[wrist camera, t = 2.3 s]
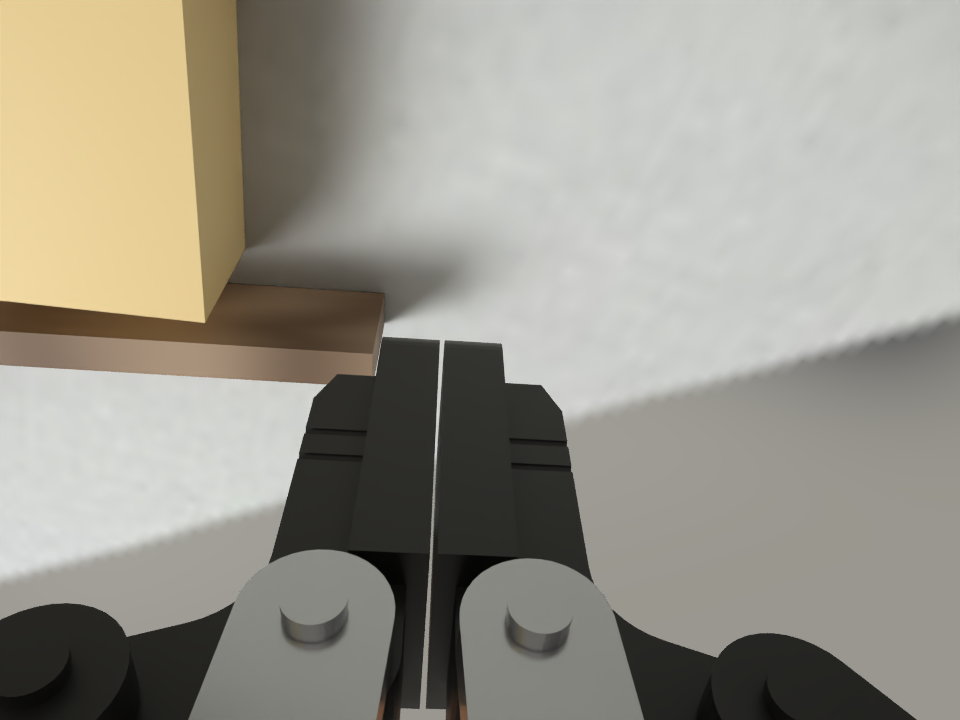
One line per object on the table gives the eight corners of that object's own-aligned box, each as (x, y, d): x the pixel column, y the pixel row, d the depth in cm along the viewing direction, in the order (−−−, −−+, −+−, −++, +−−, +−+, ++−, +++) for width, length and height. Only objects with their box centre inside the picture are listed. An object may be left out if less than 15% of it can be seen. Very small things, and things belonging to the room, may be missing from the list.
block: (237, -43, 17) (181, -12, 14) (247, 245, 21) (205, 322, 18) (-97, -92, 17) (-238, -71, 13) (-24, 213, 21) (-119, 287, 17)
